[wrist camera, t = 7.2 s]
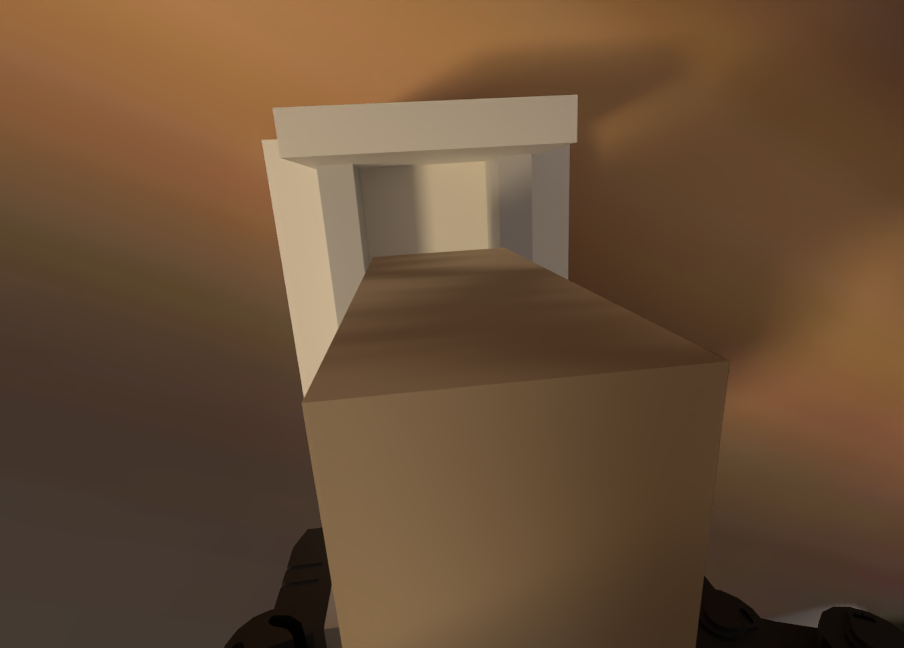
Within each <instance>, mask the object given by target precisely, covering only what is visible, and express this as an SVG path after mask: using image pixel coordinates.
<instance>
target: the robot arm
mask: <svg viewBox="0 0 904 648" xmlns="http://www.w3.org/2000/svg"><path fill="white" fill-rule="evenodd" d="M224 648H342V642H341V636H340V630H339V624H338V618H337V612H336V606H335V600H334V594H333V588H332V582H331V576H330V570H329V564H328V558H327V552H326V546H325V540H324V534H323V528H316V529H308V530H307V531H306V532H305V534H304V535H303V536H302V537H301V538H300V540H299V541H298V542H297V543H296V545H295V546H294V547H293V550H292V553H291V556H290V560H289V563H288V566H287V571H286V573H285V576H284V579H283V582H282V588H281V589H280V592H279V595H278V598H277V601H276V605H275V608H274V610H269V611H267V612H265V613H263V614H260V615H258V616H256V617H254V618H252V619H251V620H250V621H248V622H247V623H246V624H244V625H243V626H242V627H240V628H239V629H238V630H237V631H236V632H235V634H234V635H233V636H232V637H231V639H230V640H229V641H228V642H227V644H226V645H225V647H224ZM695 648H904V631H902V630H901V629H899V628H898V627H896V626H895V625H893V624H892V623H891V622H889V621H887V620H884V619H882V618H880V617H878V616H876V615H874V614H872V613H870V612H866V611H863V610H859V609H855V608H851V607H832V608H830V609H828V610H826V611H824V612H822V615H821V618H820V620H819V624H818V628H814V627H807V626H801V625H794V624H787V623H781V622H775V621H771V620H767V619H762V618H760V617H759V616H758V615H757V614H756V612H755V611H754V610H753V609H752V608H751V607H749V606H748V605H747V604H745V603H744V602H742V601H741V600H740V599H738V598H737V597H734V596H732V595H730V594H728V593H725V592H723V591H721V590H716V589H715V588H714V587H713V586H712V585H711V583H710V582H709V581H708V580H707V578H706V577H705V576H704V580H703V588H702V597H701V605H700V613H699V622H698V630H697V638H696V647H695Z"/></svg>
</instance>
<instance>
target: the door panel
mask: <svg viewBox="0 0 904 648" xmlns="http://www.w3.org/2000/svg"><path fill="white" fill-rule="evenodd" d="M729 363H730V361H729V360H727V359H725V358H723V357H721V356H719V355H717V354H715V353H713V352H711V351H709V350H707V349H705V348H703V347H701V346H699V345H697V344H695V343H693V342H691V341H689V340H687V339H685V338H683V337H681V336H679V335H677V334H675V333H673V332H671V331H669V330H667V329H665V328H663V327H661V326H659V325H657V324H655V323H653V322H651V321H649V320H647V319H645V318H643V317H641V316H639V315H637V314H635V313H633V312H631V311H629V310H627V309H625V308H623V307H621V306H619V305H617V304H615V303H613V302H611V301H609V300H607V299H605V298H603V297H601V296H599V295H597V294H595V293H593V292H591V291H589V290H587V289H585V288H584V287H582V286H580V285H578V284H576V283H574V282H572V281H570V280H568V279H566V278H564V277H562V276H560V275H558V274H556V273H554V272H552V271H550V270H548V269H546V268H544V267H542V266H540V265H538V264H536V263H534V262H532V261H530V260H528V259H526V258H524V257H522V256H520V255H518V254H516V253H514V252H512V251H510V250H508V249H506V248H491V249H477V250H463V251H450V252H436V253H422V254H408V255H394V256H381V257H373V258H372V260H371V263H370V265H369V267H368V269H367V271H366V273H365V275H364V277H363V279H362V281H361V283H360V285H359V287H358V289H357V291H356V293H355V295H354V297H353V299H352V301H351V303H350V305H349V307H348V310H347V312H346V314H345V316H344V318H343V320H342V322H341V324H340V326H339V328H338V330H337V332H336V334H335V336H334V338H333V340H332V342H331V344H330V346H329V348H328V350H327V352H326V354H325V356H324V359H323V361H322V363H321V365H320V367H319V369H318V371H317V373H316V375H315V377H314V379H313V381H312V383H311V385H310V387H309V389H308V391H307V393H306V395H305V397H304V399H303V401H302V408H303V414H304V420H305V426H306V432H307V438H308V444H309V450H310V456H311V462H312V468H313V474H314V480H315V486H316V492H317V498H318V504H319V510H320V516H321V522H322V528H323V534H324V540H325V546H326V552H327V558H328V564H329V570H330V576H331V582H332V588H333V594H334V600H335V606H336V612H337V618H338V624H339V630H340V636H341V642H342V648H695V647H696V638H697V630H698V622H699V613H700V605H701V597H702V588H703V580H704V572H705V563H706V555H707V547H708V538H709V530H710V522H711V513H712V505H713V497H714V488H715V480H716V472H717V463H718V455H719V447H720V438H721V430H722V422H723V413H724V405H725V397H726V388H727V380H728V372H729Z"/></svg>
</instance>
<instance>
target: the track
mask: <svg viewBox="0 0 904 648" xmlns="http://www.w3.org/2000/svg"><path fill="white" fill-rule="evenodd" d="M273 114H274V121H275V127H276V134H277V139H276V140H262V145H263V151H264V157H265V163H266V169H267V175H268V181H269V188H270V194H271V200H272V206H273V212H274V218H275V224H276V230H277V236H278V242H279V248H280V254H281V260H282V267H283V273H284V279H285V285H286V291H287V297H288V303H289V309H290V315H291V321H292V327H293V333H294V340H295V346H296V352H297V358H298V364H299V370H300V376H301V382H302V388H303V394H304V397H305V395H306V393H307V391H308V389H309V387H310V385H311V383H312V381H313V379H314V377H315V375H316V373H317V371H318V369H319V367H320V365H321V363H322V361H323V359H324V356H325V354H326V352H327V350H328V348H329V346H330V344H331V342H332V340H333V338H334V336H335V334H336V332H337V330H338V328H339V326H340V324H341V322H342V320H343V318H344V316H345V314H346V312H347V310H348V307H349V305H350V303H351V301H352V299H353V297H354V295H355V293H356V291H357V289H358V287H359V285H360V283H361V281H362V279H363V277H364V275H365V273H366V271H367V269H368V267H369V265H370V263H371V260H372V258H373V257H381V256H394V255H408V254H422V253H436V252H450V251H463V250H477V249H491V248H506V249H508V250H510V251H512V252H514V253H516V254H518V255H520V256H522V257H524V258H526V259H528V260H530V261H532V262H534V263H536V264H538V265H540V266H542V267H544V268H546V269H548V270H550V271H552V272H554V273H556V274H558V275H560V276H562V277H564V278H566V279H568V252H569V174H570V144H573V143H576V142H577V114H578V95H556V96H533V97H510V98H487V99H464V100H441V101H418V102H395V103H372V104H349V105H326V106H303V107H280V108H273Z"/></svg>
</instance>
